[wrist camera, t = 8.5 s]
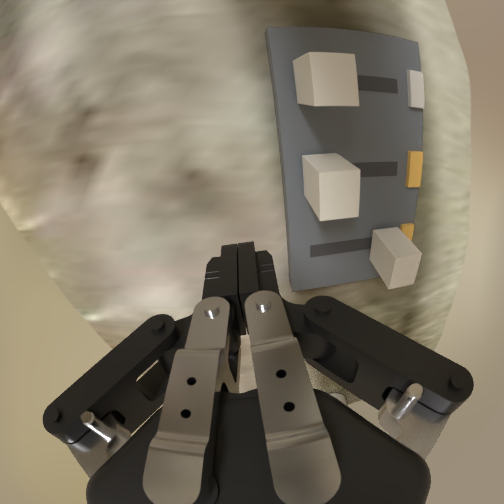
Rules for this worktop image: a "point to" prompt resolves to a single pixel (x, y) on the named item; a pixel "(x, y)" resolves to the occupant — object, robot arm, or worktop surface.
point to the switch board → (348, 148)
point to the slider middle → (331, 186)
